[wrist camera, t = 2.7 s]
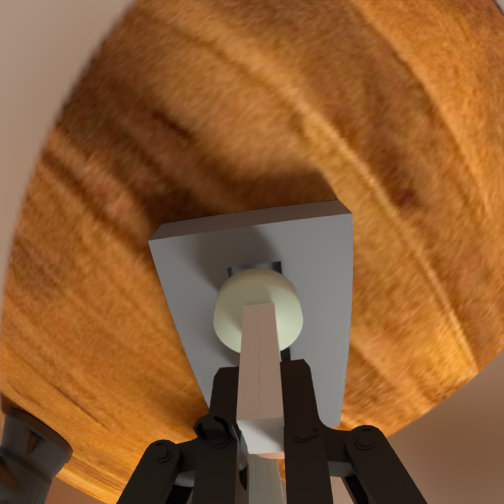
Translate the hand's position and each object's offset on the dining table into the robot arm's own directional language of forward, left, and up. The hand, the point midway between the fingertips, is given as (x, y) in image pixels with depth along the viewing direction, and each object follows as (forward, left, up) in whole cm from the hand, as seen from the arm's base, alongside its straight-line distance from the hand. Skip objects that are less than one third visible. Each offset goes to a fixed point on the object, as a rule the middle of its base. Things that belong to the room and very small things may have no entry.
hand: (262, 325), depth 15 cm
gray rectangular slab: (0, -7, -7) cm, 10 cm away
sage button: (0, 0, -4) cm, 4 cm away
